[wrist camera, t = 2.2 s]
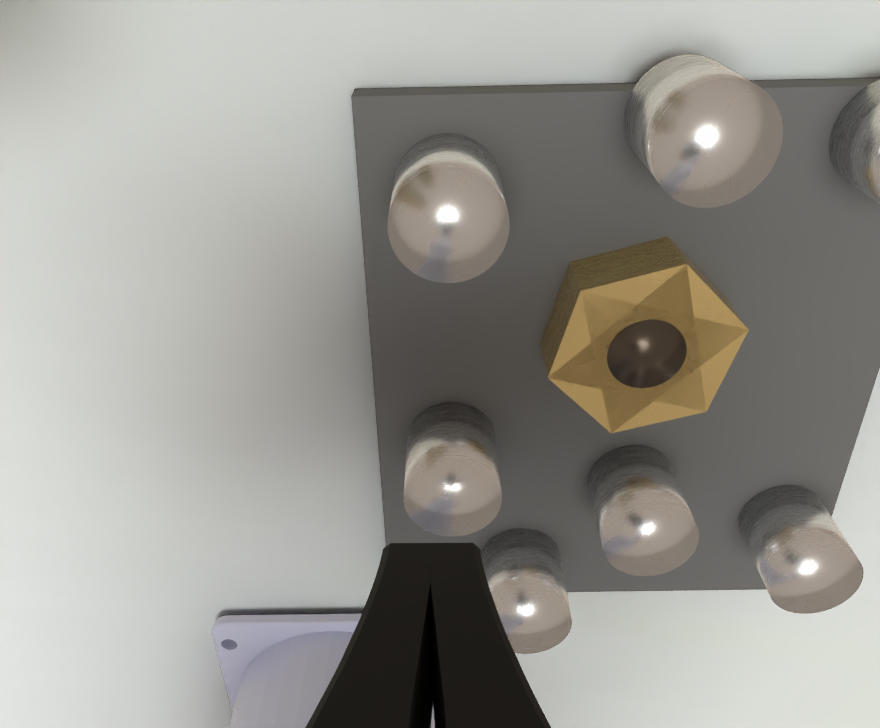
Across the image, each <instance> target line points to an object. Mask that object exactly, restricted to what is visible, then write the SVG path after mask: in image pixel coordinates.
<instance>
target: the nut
mask: <svg viewBox="0 0 880 728" xmlns="http://www.w3.org/2000/svg"><path fill="white" fill-rule="evenodd" d="M748 331H749V329H748V328H747V326H746V325H745V324H744V322H743V321H742V319H741V318H740V317H739V315H738V314H737V313H736V311H735V310H734V308H733V307H732V306H731V304H730V303H729V301H728V300H727V299H726V298H725V297H724V295H723V294H722V293H721V292H720V291H719V290H718V289H717V288H716V287H715V286H714V285H713V284H712V283H711V282H710V281H709V280H708V278H707V277H706V276H705V275H704V274H703V273H702V272H701V271H700V270H699V269H698V268H697V267H696V266H695V265H694V264H693V263H692V261H691V260H690V259H689V258H688V257H687V256H686V255H685V254H684V253H683V252H682V251H681V250H680V249H679V248H678V247H677V246H676V244H675V243H674V242H673V241H672V240H671V239H670V238H669V237H668V236H667V237H663V238H659V239H655V240H652V241H648V242H644V243H640V244H636V245H632V246H629V247H625V248H621V249H617V250H613V251H609V252H606V253H602V254H598V255H594V256H590V257H586V258H583V259H579V260H575V261H571V262H570V263H569V266H568V268H567V271H566V274H565V277H564V279H563V282H562V285H561V288H560V291H559V293H558V296H557V299H556V302H555V304H554V307H553V310H552V313H551V316H550V318H549V321H548V324H547V327H546V329H545V332H544V335H543V338H542V340H541V343H540V346H541V350H542V355H543V359H544V364H545V368H546V372H547V377H548V379H549V380H551V381H552V382H553V383H554V384H555V385H556V386H557V387H559V388H560V389H561V390H562V391H563V392H564V393H565V394H567V395H568V396H569V397H570V398H571V399H572V400H573V401H575V402H576V403H577V404H578V405H579V406H580V407H581V408H583V409H584V410H585V411H586V412H587V413H588V414H589V415H591V416H592V417H593V418H594V419H595V420H596V421H597V422H599V423H600V424H601V425H602V426H603V427H604V428H605V429H607V430H608V431H609V432H610V433H615V432H620V431H624V430H628V429H633V428H637V427H642V426H646V425H650V424H655V423H659V422H664V421H668V420H673V419H677V418H681V417H686V416H690V415H695V414H699V413H703V412H707V410H708V408H709V406H710V404H711V402H712V400H713V398H714V396H715V394H716V392H717V391H718V389H719V387H720V385H721V383H722V381H723V379H724V377H725V375H726V373H727V371H728V369H729V367H730V365H731V363H732V362H733V360H734V358H735V356H736V354H737V352H738V350H739V348H740V346H741V344H742V342H743V340H744V338H745V336H746V334H747V333H748Z"/></svg>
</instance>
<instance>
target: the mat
mask: <svg viewBox="0 0 880 728" xmlns="http://www.w3.org/2000/svg"><path fill="white" fill-rule="evenodd" d="M878 80H880V78H847V79H800V80H752V81H751V82H753V83H755V84H756V85H758V86H760V87H761V88H763V89H764V90H765V91H766V92H767V93H768V94H769V95H770V96H771V97H772V98H773V100H774V101H775V103H776V104H777V106H778V109H779V111H780V114H781V118H782V124H783V139H782V145H781V149H780V152H779V155H778V157H777V160H776V162H775V164H774V166H773V168H772V169H771V171H770V172H769V174H768V175H767V176H766V178H765V179H764V180H763V181H762V182H761V183H760V184H759V185H758V186H757V187H756V188H755V189H754V190H752V191H751V192H750V193H748V194H747V195H746V196H744V197H742V198H740V199H739V200H736V201H734V202H732V203H729V204H726V205H723V206H719V207H712V208H698V207H692V206H688V205H685V204H682V203H680V202H678V201H676V200H675V199H673V198H672V197H671V196H669V195H668V194H667V193H666V192H665V191H664V189H663V188H662V187H661V186H660V184H659V183H658V182H657V181H656V179H655V178H654V177H653V175H652V174H651V173H650V172H649V170H648V169H647V168H646V166H645V165H644V164H643V163H642V161H641V160H640V159H639V157H638V156H637V155H636V154H635V152H634V151H633V150H632V148H631V146H630V145H629V143H628V140H627V138H626V134H625V129H624V113H625V107H626V104H627V101H628V98H629V96H630V94H631V92H632V90H633V88H634V86H635V85H636V84H637V83H610V84H562V85H515V86H467V87H420V88H372V89H355V90H354V92H353V95H352V110H353V123H354V136H355V149H356V161H357V174H358V187H359V200H360V213H361V226H362V239H363V252H364V265H365V278H366V291H367V304H368V317H369V330H370V343H371V356H372V368H373V381H374V394H375V407H376V420H377V433H378V446H379V459H380V472H381V485H382V498H383V511H384V524H385V537H386V546H388V545H389V544H390V543H474V544H475V545H476V546H477V547H479V548H480V552H481V550H482V548H483V546H484V545H485V543H486V542H487V541H488V540H489V539H491V538H492V537H493V536H495V535H496V534H498V533H500V532H503V531H506V530H509V529H515V528H528V529H534V530H537V531H540V532H543V533H545V534H546V535H548V536H549V537H550V538H552V539H553V541H554V542H555V543H556V545H557V547H558V549H559V554H560V559H561V565H562V570H563V576H564V581H565V587H566V592H600V591H674V590H749V589H767V588H766V586H765V584H764V582H763V580H762V578H761V576H760V573H759V571H758V569H757V567H756V565H755V563H754V561H753V559H752V557H751V555H750V552H749V550H748V548H747V546H746V544H745V542H744V540H743V538H742V536H741V534H740V531H739V529H738V516H739V513H740V511H741V509H742V508H743V506H744V505H745V504H746V503H747V502H748V501H749V500H750V499H751V498H752V497H753V496H755V495H756V494H758V493H760V492H761V491H764V490H766V489H768V488H771V487H775V486H780V485H799V486H803V487H806V488H808V489H810V490H812V491H813V492H814V493H815V494H816V495H817V496H818V497H819V498H820V500H821V502H822V503H823V505H824V506H825V508H826V509H827V511H828V513H829V514H830V516H832V513H833V510H834V507H835V504H836V501H837V498H838V494H839V491H840V488H841V485H842V482H843V479H844V476H845V473H846V470H847V467H848V464H849V460H850V457H851V454H852V451H853V448H854V445H855V442H856V439H857V436H858V433H859V430H860V426H861V423H862V420H863V417H864V414H865V411H866V408H867V405H868V402H869V399H870V396H871V392H872V389H873V386H874V383H875V380H876V377H877V374H878V371H879V368H880V204H879V203H877V202H876V201H874V200H873V199H871V198H870V197H868V196H867V195H865V194H864V193H862V192H861V191H860V190H858V189H857V188H855V187H854V186H852V185H851V184H849V183H848V182H846V181H845V180H844V179H842V178H841V177H840V176H839V175H838V174H837V173H836V171H835V170H834V168H833V166H832V163H831V161H830V157H829V138H830V133H831V130H832V127H833V125H834V122H835V120H836V118H837V117H838V115H839V113H840V112H841V110H842V109H843V107H844V106H845V105H846V104H847V103H848V102H849V100H850V99H851V98H852V97H854V96H855V95H856V94H857V93H858V92H859V91H861V90H862V89H863V88H865V87H867V86H868V85H870V84H872V83H874V82H876V81H878ZM442 133H454V134H460V135H464V136H467V137H469V138H471V139H473V140H475V141H477V142H478V143H480V144H481V145H482V146H483V147H485V148H486V149H487V151H488V152H489V153H490V154H491V155H492V157H493V158H494V160H495V162H496V164H497V166H498V169H499V173H500V177H501V182H502V186H503V191H504V195H505V200H506V205H507V209H508V214H509V223H510V228H509V236H508V240H507V243H506V246H505V248H504V250H503V252H502V254H501V255H500V257H499V258H498V260H497V261H496V262H495V263H494V264H493V265H492V266H491V267H490V268H489V269H488V270H486V271H485V272H483V273H482V274H480V275H479V276H477V277H474V278H472V279H469V280H466V281H463V282H458V283H439V282H434V281H430V280H427V279H424V278H422V277H420V276H418V275H416V274H415V273H413V272H412V271H410V270H409V269H408V268H407V267H406V266H404V265H403V264H402V262H401V261H400V260H399V259H398V257H397V256H396V254H395V252H394V251H393V248H392V246H391V244H390V240H389V236H388V229H387V227H388V215H389V209H390V203H391V197H392V191H393V185H394V179H395V174H396V170H397V167H398V165H399V163H400V161H401V159H402V158H403V156H404V155H405V153H406V152H407V151H408V150H409V149H410V148H411V147H412V146H413V145H415V144H416V143H417V142H419V141H420V140H422V139H424V138H426V137H429V136H432V135H436V134H442ZM667 236H668V237H669V238H670V239H671V240H672V241H673V242H674V243H675V244H676V246H677V247H678V248H679V249H680V250H681V251H682V252H683V253H684V254H685V255H686V256H687V257H688V258H689V259H690V260H691V261H692V263H693V264H694V265H695V266H696V267H697V268H698V269H699V270H700V271H701V272H702V273H703V274H704V275H705V276H706V277H707V278H708V280H709V281H710V282H711V283H712V284H713V285H714V286H715V287H716V288H717V289H718V290H719V291H720V292H721V293H722V294H723V295H724V297H725V298H726V299H727V300H728V301H729V303H730V304H731V306H732V307H733V308H734V310H735V311H736V313H737V314H738V315H739V317H740V318H741V319H742V321H743V322H744V324H745V325H746V326H747V328H748V329H749V331H748V333H747V334H746V336H745V338H744V340H743V342H742V344H741V346H740V348H739V350H738V352H737V354H736V356H735V358H734V360H733V362H732V363H731V365H730V367H729V369H728V371H727V373H726V375H725V377H724V379H723V381H722V383H721V385H720V387H719V389H718V391H717V392H716V394H715V396H714V398H713V400H712V402H711V404H710V406H709V408H708V410H707V412H703V413H699V414H695V415H690V416H686V417H681V418H677V419H673V420H668V421H664V422H659V423H655V424H650V425H646V426H642V427H637V428H633V429H628V430H624V431H620V432H615V433H610V432H609V431H608V430H607V429H605V428H604V427H603V426H602V425H601V424H600V423H599V422H597V421H596V420H595V419H594V418H593V417H592V416H591V415H589V414H588V413H587V412H586V411H585V410H584V409H583V408H581V407H580V406H579V405H578V404H577V403H576V402H575V401H573V400H572V399H571V398H570V397H569V396H568V395H567V394H565V393H564V392H563V391H562V390H561V389H560V388H559V387H557V386H556V385H555V384H554V383H553V382H552V381H551V380H549V379H548V377H547V372H546V368H545V364H544V359H543V355H542V350H541V346H540V343H541V340H542V338H543V335H544V332H545V329H546V327H547V324H548V321H549V318H550V316H551V313H552V310H553V307H554V304H555V302H556V299H557V296H558V293H559V291H560V288H561V285H562V282H563V279H564V277H565V274H566V271H567V268H568V266H569V263H570V262H571V261H575V260H579V259H583V258H586V257H590V256H594V255H598V254H602V253H606V252H609V251H613V250H617V249H621V248H625V247H629V246H632V245H636V244H640V243H644V242H648V241H652V240H655V239H659V238H663V237H667ZM444 402H460V403H465V404H468V405H471V406H474V407H475V408H477V409H479V410H480V411H482V412H483V413H484V414H485V415H486V416H487V417H488V418H489V419H490V421H491V422H492V424H493V426H494V429H495V434H496V444H497V454H498V463H499V473H500V483H501V493H502V503H501V507H500V510H499V512H498V514H497V516H496V517H495V518H494V520H493V521H492V522H491V523H490V524H488V525H487V526H486V527H484V528H483V529H481V530H479V531H477V532H474V533H472V534H468V535H463V536H441V535H437V534H433V533H431V532H428V531H426V530H424V529H422V528H421V527H419V526H418V525H417V524H415V523H414V522H413V521H412V520H411V518H410V517H409V516H408V514H407V512H406V510H405V507H404V482H405V467H406V451H407V435H408V430H409V427H410V425H411V423H412V421H413V420H414V418H415V417H416V416H417V415H418V414H419V413H420V412H422V411H423V410H425V409H426V408H428V407H430V406H433V405H435V404H439V403H444ZM626 445H645V446H649V447H653V448H655V449H657V450H659V451H661V452H662V453H663V454H664V455H665V456H666V457H667V458H668V459H669V461H670V463H671V465H672V467H673V470H674V472H675V474H676V477H677V479H678V482H679V484H680V487H681V489H682V491H683V494H684V496H685V499H686V501H687V504H688V506H689V508H690V511H691V513H692V516H693V518H694V521H695V523H696V525H697V528H698V532H699V542H698V545H697V548H696V550H695V552H694V553H693V555H692V556H691V557H690V558H689V559H688V560H687V561H686V562H685V563H683V564H682V565H681V566H679V567H677V568H676V569H674V570H671V571H669V572H666V573H663V574H659V575H654V576H635V575H630V574H627V573H624V572H622V571H620V570H618V569H616V568H615V567H614V566H612V565H611V564H610V563H609V561H608V560H607V558H606V556H605V554H604V550H603V546H602V542H601V538H600V534H599V530H598V526H597V523H596V519H595V515H594V511H593V507H592V503H591V499H590V495H589V491H588V486H587V478H588V474H589V471H590V469H591V467H592V466H593V464H594V463H595V462H596V461H597V460H598V459H599V458H600V457H601V456H602V455H604V454H605V453H607V452H608V451H610V450H612V449H615V448H617V447H621V446H626Z"/></svg>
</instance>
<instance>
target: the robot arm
mask: <svg viewBox="0 0 880 728" xmlns="http://www.w3.org/2000/svg"><path fill="white" fill-rule="evenodd" d="M212 635H213V639H214V643H215V647H216V651H217V655H218V659H219V663H220V666H221V670H222V674H223V678H224V682H225V686H226V690H227V693H228V697H229V701H230V705H231V709H232V717H231V721H230V725H229V728H551V727H550V725H549V723H548V721H547V719H546V717H545V715H544V713H543V711H542V709H541V708H540V706H539V704H538V702H537V700H536V698H535V696H534V694H533V692H532V690H531V688H530V686H529V684H528V681H527V679H526V677H525V675H524V673H523V671H522V669H521V666H520V664H519V662H518V660H517V657H516V655H515V653H514V650H513V648H512V646H511V644H510V641H509V639H508V637H507V634H506V632H505V630H504V627H503V625H502V622H501V619H500V617H499V614H498V611H497V609H496V606H495V603H494V600H493V597H492V594H491V591H490V588H489V585H488V582H487V578H486V575H485V571H484V567H483V563H482V558H481V552H480V548H479V547H477V546H476V545H475V544H474V543H390V544H389V545H388V546H386V547H385V548H384V549H383V553H382V557H381V561H380V565H379V568H378V572H377V575H376V578H375V581H374V584H373V587H372V589H371V592H370V595H369V597H368V600H367V602H366V605H365V607H364V610H363V612H362V614H293V615H226V616H221V617H219V618H217V619H216V621H215V622H214V625H213V628H212Z"/></svg>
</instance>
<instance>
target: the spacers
mask: <svg viewBox="0 0 880 728" xmlns="http://www.w3.org/2000/svg"><path fill="white" fill-rule="evenodd" d="M624 129H625V134H626V138H627V140H628V143H629V145H630V146H631V148H632V150H633V151H634V152H635V154H636V155H637V156H638V157H639V159H640V160H641V161H642V163H643V164H644V165H645V166H646V168H647V169H648V170H649V172H650V173H651V174H652V175H653V177H654V178H655V179H656V181H657V182H658V183H659V184H660V186H661V187H662V188H663V189H664V191H665V192H666V193H667V194H668V195H669V196H671V197H672V198H673V199H675V200H676V201H678V202H680V203H682V204H685V205H688V206H692V207H698V208H712V207H719V206H723V205H726V204H729V203H732V202H734V201H736V200H739V199H740V198H742V197H744V196H746V195H747V194H748V193H750V192H751V191H752V190H754V189H755V188H756V187H757V186H758V185H759V184H760V183H761V182H762V181H763V180H764V179H765V178H766V176H767V175H768V174H769V172H770V171H771V169H772V168H773V166H774V164H775V162H776V160H777V157H778V155H779V152H780V149H781V145H782V139H783V124H782V118H781V114H780V111H779V109H778V106H777V104H776V103H775V101H774V100H773V98H772V97H771V96H770V95H769V94H768V93H767V92H766V91H765V90H764V89H763V88H761V87H760V86H758V85H756V84H755V83H753V82H751V81H749V80H748V79H746V78H744V77H742V76H741V75H739V74H737V73H735V72H734V71H732V70H730V69H728V68H727V67H725V66H723V65H721V64H720V63H718V62H716V61H714V60H712V59H711V58H708V57H705V56H701V55H694V54H686V55H679V56H674V57H671V58H668V59H666V60H664V61H662V62H660V63H658V64H657V65H655V66H654V67H652V68H651V69H650V70H648V71H647V72H646V73H645V74H644V75H643V76H642V77H641V78H640V79H639V81H638V82H637V84H636V85H635V86H634V88H633V90H632V92H631V94H630V96H629V98H628V101H627V104H626V107H625V113H624ZM829 157H830V161H831V163H832V166H833V168H834V170H835V171H836V173H837V174H838V175H839V176H840V177H841V178H842V179H844V180H845V181H846V182H848V183H849V184H851V185H852V186H854V187H855V188H857V189H858V190H860V191H861V192H862V193H864V194H865V195H867V196H868V197H870V198H871V199H873V200H874V201H876V202H877V203H879V204H880V80H878V81H876V82H874V83H872V84H870V85H868V86H867V87H865V88H863V89H862V90H861V91H859V92H858V93H857V94H856V95H855V96H854V97H852V98H851V99H850V100H849V102H848V103H847V104H846V105H845V106H844V107H843V109H842V110H841V112H840V113H839V115H838V117H837V118H836V120H835V122H834V125H833V127H832V130H831V133H830V138H829ZM509 228H510V223H509V214H508V209H507V205H506V200H505V195H504V191H503V186H502V182H501V177H500V173H499V169H498V166H497V164H496V162H495V160H494V158H493V157H492V155H491V154H490V153H489V152H488V151H487V149H486V148H485V147H483V146H482V145H481V144H480V143H478V142H477V141H475V140H473V139H471V138H469V137H467V136H464V135H460V134H454V133H442V134H436V135H432V136H429V137H426V138H424V139H422V140H420V141H419V142H417V143H416V144H415V145H413V146H412V147H411V148H410V149H409V150H408V151H407V152H406V153H405V155H404V156H403V158H402V159H401V161H400V163H399V165H398V167H397V170H396V174H395V179H394V185H393V191H392V197H391V203H390V209H389V215H388V227H387V229H388V236H389V240H390V244H391V246H392V248H393V251H394V252H395V254H396V256H397V257H398V259H399V260H400V261H401V262H402V264H403V265H404V266H406V267H407V268H408V269H409V270H410V271H412V272H413V273H415V274H416V275H418V276H420V277H422V278H424V279H427V280H430V281H434V282H439V283H458V282H463V281H466V280H469V279H472V278H474V277H477V276H479V275H480V274H482V273H483V272H485V271H486V270H488V269H489V268H490V267H491V266H492V265H493V264H494V263H495V262H496V261H497V260H498V258H499V257H500V255H501V254H502V252H503V250H504V248H505V246H506V243H507V240H508V236H509ZM587 486H588V491H589V495H590V499H591V503H592V507H593V511H594V515H595V519H596V523H597V526H598V530H599V534H600V538H601V542H602V546H603V550H604V554H605V556H606V558H607V560H608V561H609V563H610V564H611V565H612V566H614V567H615V568H616V569H618V570H620V571H622V572H624V573H627V574H630V575H635V576H654V575H659V574H663V573H666V572H669V571H671V570H674V569H676V568H677V567H679V566H681V565H682V564H683V563H685V562H686V561H687V560H688V559H689V558H690V557H691V556H692V555H693V553H694V552H695V550H696V548H697V545H698V542H699V532H698V528H697V525H696V523H695V521H694V518H693V516H692V513H691V511H690V508H689V506H688V504H687V501H686V499H685V496H684V494H683V491H682V489H681V487H680V484H679V482H678V479H677V477H676V474H675V472H674V470H673V467H672V465H671V463H670V461H669V459H668V458H667V457H666V456H665V455H664V454H663V453H662V452H661V451H659V450H657V449H655V448H653V447H649V446H645V445H626V446H621V447H617V448H615V449H612V450H610V451H608V452H607V453H605V454H604V455H602V456H601V457H600V458H599V459H598V460H597V461H596V462H595V463H594V464H593V466H592V467H591V469H590V471H589V474H588V478H587ZM501 503H502V493H501V483H500V473H499V463H498V454H497V444H496V434H495V429H494V426H493V424H492V422H491V421H490V419H489V418H488V417H487V416H486V415H485V414H484V413H483V412H482V411H480V410H479V409H477V408H475V407H474V406H471V405H468V404H465V403H460V402H444V403H439V404H435V405H433V406H430V407H428V408H426V409H425V410H423V411H422V412H420V413H419V414H418V415H417V416H416V417H415V418H414V420H413V421H412V423H411V425H410V427H409V430H408V435H407V451H406V467H405V482H404V507H405V510H406V512H407V514H408V516H409V517H410V518H411V520H412V521H413V522H414V523H415V524H417V525H418V526H419V527H421V528H422V529H424V530H426V531H428V532H431V533H433V534H437V535H441V536H463V535H468V534H472V533H474V532H477V531H479V530H481V529H483V528H484V527H486V526H487V525H488V524H490V523H491V522H492V521H493V520H494V518H495V517H496V516H497V514H498V512H499V510H500V507H501ZM738 529H739V531H740V534H741V536H742V538H743V540H744V542H745V544H746V546H747V548H748V550H749V552H750V555H751V557H752V559H753V561H754V563H755V565H756V567H757V569H758V571H759V573H760V576H761V578H762V580H763V582H764V584H765V586H766V588H767V590H768V592H769V594H770V597H771V599H772V600H773V602H774V603H775V604H776V605H777V606H779V607H780V608H782V609H784V610H787V611H790V612H794V613H805V614H806V613H816V612H821V611H825V610H828V609H831V608H833V607H835V606H837V605H839V604H841V603H843V602H844V601H846V600H847V599H848V598H850V597H851V596H852V595H853V594H854V593H855V592H856V591H857V589H858V588H859V586H860V584H861V582H862V579H863V567H862V565H861V563H860V561H859V560H858V558H857V557H856V555H855V553H854V552H853V550H852V549H851V547H850V546H849V544H848V542H847V541H846V539H845V538H844V536H843V535H842V533H841V531H840V530H839V528H838V527H837V525H836V524H835V522H834V520H833V519H832V517H831V516H830V514H829V513H828V511H827V509H826V508H825V506H824V505H823V503H822V502H821V500H820V498H819V497H818V496H817V495H816V494H815V493H814V492H813V491H812V490H810V489H808V488H806V487H803V486H799V485H780V486H775V487H771V488H768V489H766V490H764V491H761V492H760V493H758V494H756V495H755V496H753V497H752V498H751V499H750V500H749V501H748V502H747V503H746V504H745V505H744V506H743V508H742V509H741V511H740V513H739V516H738ZM481 558H482V563H483V567H484V571H485V575H486V578H487V582H488V585H489V588H490V591H491V594H492V597H493V600H494V603H495V606H496V609H497V611H498V614H499V617H500V619H501V622H502V625H503V627H504V630H505V632H506V634H507V637H508V639H509V641H510V644H511V646H512V648H513V650H514V653H523V654H528V653H537V652H541V651H545V650H548V649H550V648H552V647H554V646H556V645H557V644H559V643H560V642H561V641H563V640H564V639H565V637H566V636H567V635H568V633H569V631H570V629H571V624H572V620H571V614H570V609H569V603H568V598H567V592H566V587H565V581H564V576H563V570H562V565H561V559H560V554H559V549H558V547H557V545H556V543H555V542H554V541H553V539H552V538H550V537H549V536H548V535H546V534H545V533H543V532H540V531H537V530H534V529H528V528H515V529H509V530H506V531H503V532H500V533H498V534H496V535H495V536H493V537H492V538H491V539H489V540H488V541H487V542H486V543H485V545H484V546H483V548H482V550H481Z"/></svg>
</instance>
